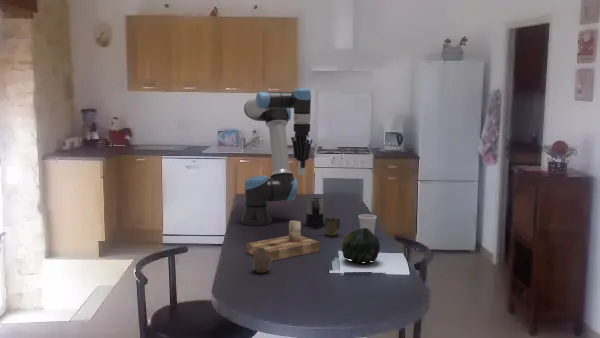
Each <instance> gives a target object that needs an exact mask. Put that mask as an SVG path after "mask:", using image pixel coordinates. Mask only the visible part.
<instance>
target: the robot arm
mask: <svg viewBox="0 0 600 338" xmlns="http://www.w3.org/2000/svg"><path fill="white" fill-rule="evenodd" d="M311 94H312V93H311V89H310V88H295V89H294V90H293V91H279V92H278V91H258V92H257V94H256V97H255V98H250V99H249V100H247V101H246V102H245V103H244V106H243V112H244V114H245V115H246V117H248V118H249V119H250V120H253V121H258V122H265V126H266V127H268V129H269V130H268V131H269V140H270V141H269V143H270V152H271V165H272V173H271V174H270V178H269V177H268V175H256V176H255V175H254V176H251V177H248V178H246V180H245V181H244V209H243V213H242V216H241V224H242V225H246V226H259V227H260V226H266V225H270V224H272V215H271V213H270V209H269V203H271V202H287V201H289V202H290V201H293V200H295V198H296V196H297V193H298V188H299V182H298V179H297V178H296V177H294V174H293V172H292V171H291V170H290V160H289V151H288V149H289V148H288V140H287V128H286V127H287V125H288V124H289V121H290V120H291V118H292V112H291V111H292V110H291V109H293V122H294V123H293V132H294V135H293V137H290V139H291V142H292V149H293V156H294V159H296V160H297V164H296V165H297V166H296V167H297V175H298V176H304V175H305V168H306V161H308V160H309V159H310V152H311V146H312V143H313V139H311V138H310V136H309V133H310V132H311V106H312V105H311V101H312V95H311Z"/></svg>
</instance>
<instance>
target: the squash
mask: <svg viewBox="0 0 600 338" xmlns="http://www.w3.org/2000/svg"><path fill="white" fill-rule="evenodd" d="M380 250H381V245H380V241H379V239H378V238H377V236H376V234H375V233H374V234H373V233H372V232H371V231H370V230H369V229H367V228H362V229H360V228H359V229H356V230H353V231H351V232H348V233H347V234H346V236H345V237H344V239H343V240H342V245H341V251H342V256H343V258H344V259H345V258H347V259H351V260H352V261H356V262H357V261H358V262H360V263H361V264H363V265H368V264H372V263H373V262H370V261H374V262H375V261H376V260H377V258H378V255H379V253H380ZM352 261H349V262H350V263H353V262H352ZM358 262H357V263H358ZM362 262H365V263H362Z"/></svg>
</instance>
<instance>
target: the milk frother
mask: <svg viewBox="0 0 600 338" xmlns="http://www.w3.org/2000/svg"><path fill="white" fill-rule="evenodd" d="M305 198H306V206H305V208H306V209H305V213H306V214H305V217H306V218H305V226H307V227H309V228H310V227H313V228H320V227H325V222H324V201H325V200H324V198H325V195H321V194H308V195H305Z"/></svg>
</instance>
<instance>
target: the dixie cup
mask: <svg viewBox="0 0 600 338" xmlns="http://www.w3.org/2000/svg"><path fill="white" fill-rule="evenodd" d="M357 217H358V220H359V229H362V228H367V229H369V230H370V231H371V232H372V233H373V234H374V235H375V228H376V221H377V215H375V214H370V213H369V214H368V213H366V214H365V213H362V214H359V215H358V216H357Z"/></svg>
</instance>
